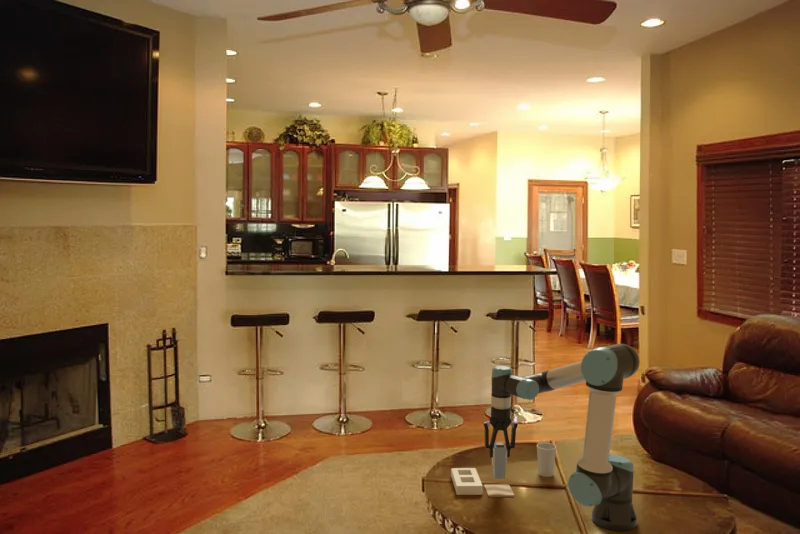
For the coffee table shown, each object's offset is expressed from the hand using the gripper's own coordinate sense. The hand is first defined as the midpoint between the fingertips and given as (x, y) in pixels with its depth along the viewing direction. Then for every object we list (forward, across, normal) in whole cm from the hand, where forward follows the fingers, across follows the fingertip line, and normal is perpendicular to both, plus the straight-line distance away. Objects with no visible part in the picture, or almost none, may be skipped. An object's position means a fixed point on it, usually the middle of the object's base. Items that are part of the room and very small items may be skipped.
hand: (499, 465), depth 254 cm
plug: (+5, 0, 0) cm, 5 cm away
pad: (+11, 0, 0) cm, 11 cm away
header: (+11, +12, -6) cm, 17 cm away
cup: (+11, -23, -17) cm, 31 cm away
